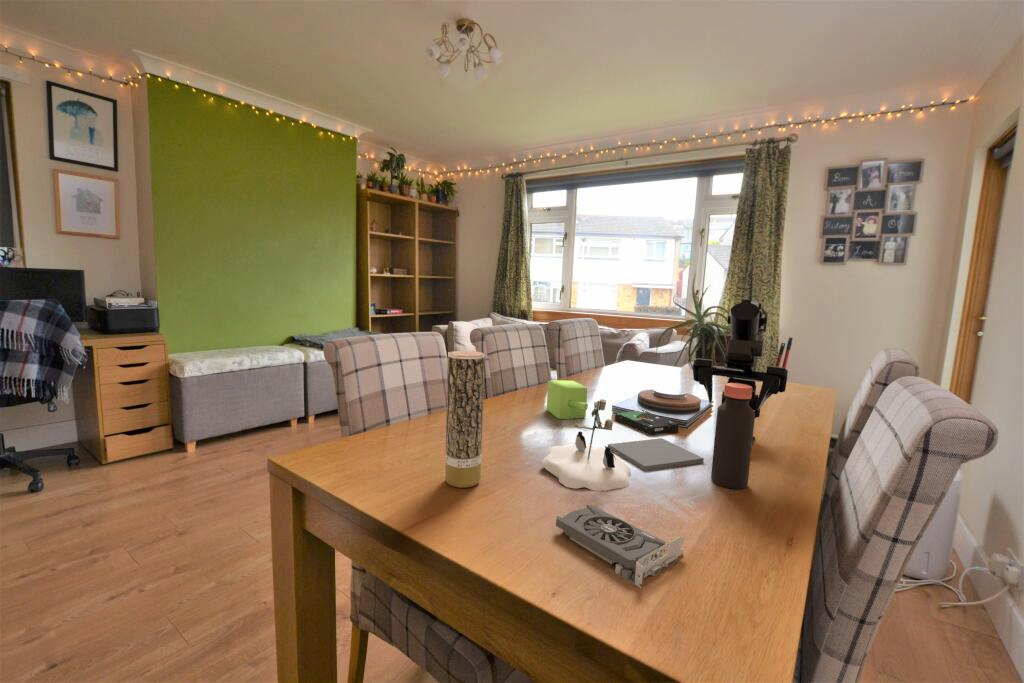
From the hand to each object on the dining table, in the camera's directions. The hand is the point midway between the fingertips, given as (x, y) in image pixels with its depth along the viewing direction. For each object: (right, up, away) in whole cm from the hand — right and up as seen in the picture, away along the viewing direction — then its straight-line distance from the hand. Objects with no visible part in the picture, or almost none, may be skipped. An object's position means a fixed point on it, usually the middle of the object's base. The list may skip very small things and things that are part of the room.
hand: (733, 405), depth 99 cm
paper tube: (-57, -14, -10) cm, 59 cm away
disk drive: (-10, -11, +32) cm, 35 cm away
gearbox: (-30, -9, +40) cm, 50 cm away
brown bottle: (-3, -15, -5) cm, 16 cm away
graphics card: (-32, -18, -29) cm, 46 cm away
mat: (-14, -13, +8) cm, 21 cm away
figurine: (-32, -14, -2) cm, 35 cm away
